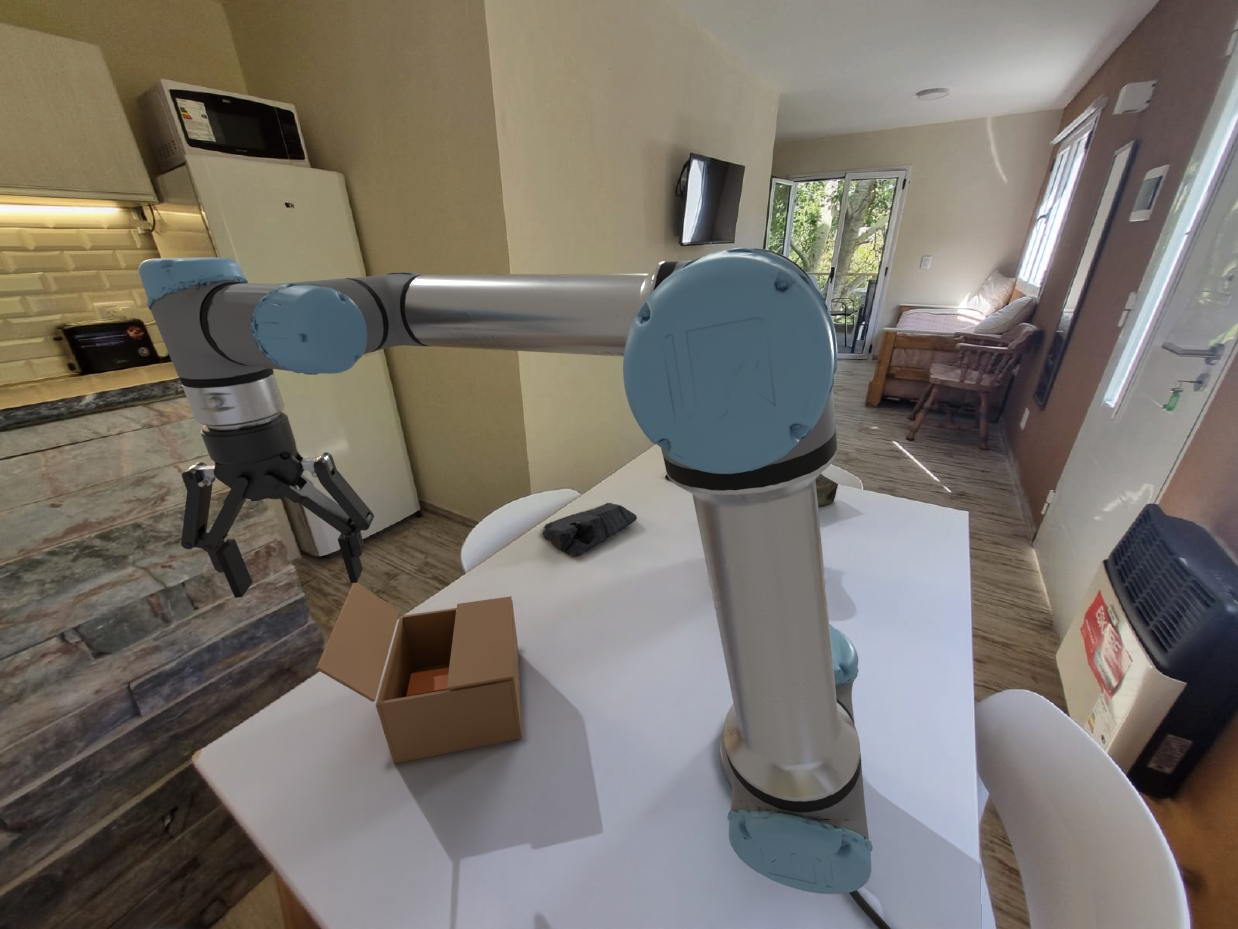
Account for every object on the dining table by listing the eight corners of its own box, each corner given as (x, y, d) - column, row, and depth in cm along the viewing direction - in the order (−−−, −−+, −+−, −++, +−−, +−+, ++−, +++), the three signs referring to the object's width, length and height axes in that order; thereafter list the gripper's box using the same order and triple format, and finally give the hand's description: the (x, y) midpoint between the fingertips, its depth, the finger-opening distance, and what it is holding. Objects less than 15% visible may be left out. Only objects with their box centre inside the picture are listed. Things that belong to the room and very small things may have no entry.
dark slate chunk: (646, 528, 117) (647, 511, 115) (571, 562, 105) (570, 543, 103) (608, 503, 128) (608, 487, 126) (536, 531, 116) (534, 514, 114)
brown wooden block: (835, 503, 128) (840, 481, 125) (779, 518, 121) (783, 496, 118) (814, 490, 135) (818, 469, 132) (758, 504, 128) (762, 482, 125)
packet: (462, 710, 71) (457, 687, 69) (412, 719, 70) (406, 695, 68) (464, 688, 75) (459, 665, 73) (416, 696, 73) (410, 673, 71)
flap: (317, 667, 55) (315, 669, 55) (375, 700, 59) (372, 702, 59) (355, 580, 69) (353, 582, 69) (399, 612, 73) (397, 613, 73)
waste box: (521, 738, 68) (513, 676, 62) (393, 764, 64) (373, 700, 59) (518, 652, 82) (511, 595, 77) (413, 669, 79) (398, 611, 73)
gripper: (76, 440, 44) (169, 619, 54) (359, 422, 49) (399, 589, 58) (132, 414, 51) (206, 577, 60) (376, 400, 56) (410, 553, 65)
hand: (301, 583), depth 59 cm, fingers open, 12 cm apart
